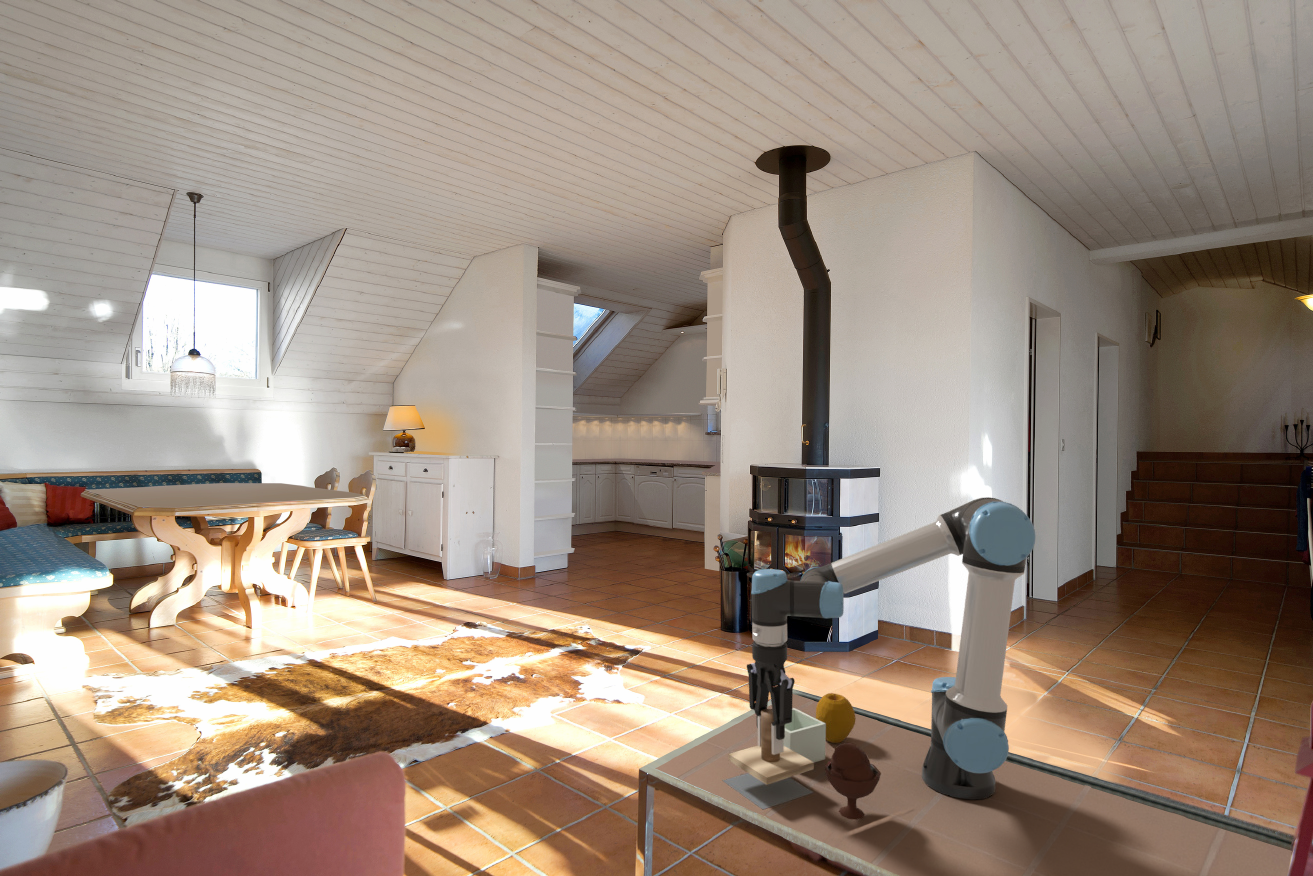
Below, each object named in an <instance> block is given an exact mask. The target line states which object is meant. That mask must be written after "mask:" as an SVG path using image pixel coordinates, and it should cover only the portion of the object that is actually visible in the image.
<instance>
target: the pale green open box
mask: <svg viewBox="0 0 1313 876" xmlns="http://www.w3.org/2000/svg"><path fill="white" fill-rule="evenodd" d="M783 741H784V746H785V747H787V748H789V749H791V750H792V751H794V752H796V753H798V754H800V755H801V756H803V757H805V758H807V759H809V760H811V761H812V762H814V763H817V762H820V761H823V760H826V741H827V740H826V724H825V723H823V722H821V721H819V720H817V719H816V717H813V716H811V715H809V714H807V713H806V712H804V711H801V710H799V709H797V708H795V707H792V722H791V723H787V724H785V738H784V739H783Z"/></svg>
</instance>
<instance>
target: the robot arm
mask: <svg viewBox="0 0 1313 876" xmlns="http://www.w3.org/2000/svg"><path fill="white" fill-rule="evenodd" d="M1035 544H1036V529H1035V527H1034V524H1033V522H1032V520H1031V519H1030V518H1029V516H1028V515H1027V514H1026V513H1025V512H1024V511H1023V510H1022V509H1021V508H1019V507H1018V506H1017V505H1015V504H1012V503H1010V502H1006V501H1003V500H1001V499H998V498H994V497H989V496H988V497H980V498H976V499H973V500H971V501H969V502H966V503H964V504H962V505H959V506H958V507H955V508H953V509H950V510H948V511H945V512H944V513H942V514H939V515H938V516H937V518H936V520H935V521H934V522H932V523H929V524H927V525H924V526H921V527H919V528H917V529H916V528H915V529H914V530H912V531H908V532H907V533H904V534H901V535H899V536H896V537H894V538H891V539H889V540H887V541H884V542H881V543H879V544H876V545H874V546H871V547H868V548H866V549H862V550H860V551H858V552H856V553H853V554H851V555H848V556H845V557H843V558H840V559H838V560H836V561H833V562H831V563H828V564H825V565H823V566H813V567H810V568H808V569H807V570H805V572H804V573H803V574H802V576H801V578H800V580H790V579H788V576H787V573H786V571H784V570H781V569H773V568H764V569H759V570H756V571H754V573H753V574H752V577H751V592H750V593H751V621H752V626H751V627H752V629H751V630H752V631H751V632H752V640H753V642H752V643H751V646H752V649H751V650H752V651H751V652H752V655H751V657H752V660H754V662H752V663H748V664H746V669H747V675H748V697H749V699H748V701H749V708H750V710H753V711H754V714H755V715H756V717H755V718H756V729H757V745H758V746H759V747H761V711H762V710H764V709H768V704H769V696H770V702H771V709H772V710H773V718H774V722H772V723H771V740H772V754H773V755H775V754H778V753H782V752H784V741H783V739H784V738H785V724H787V723H791V722H792V708H793V694H794V693H793V692H794V691H793V689H794V685H795V683H796V682H795V681H796V680H795V679H794V677H789V676H788V675H787V674H786V669H785V663H786V662H787V660H788V644H787V641H788V616H789V617H790V616H791V617H802V618H803V617H805V618H819V619H820V618H821V619H835V618H836V619H838V618H842V616H843V615H844V612H845V611H844V609H845V608H844V607H845V606H844V595H845V594H848V593H850V592H852V591H855V590H858V589H861V588H864V587H866V586H869V585H871V584H873V583H874V584H875V583H877V582H879V581H881V580H885V579H888V578H890V577H893V576H895V575H898V574H900V573H903V572H906V571H908V570H911V569H913V568H916V567H918V566H921V565H924V564H926V563H929V562H931V561H935V560H937V559H941V558H942V557H945V556H949V555H950V554H952V555H955V556H961V555H962V560H961V564H962V565H963V566H964V567H965V568H966V570H967V571H968V577H967V584H966V592H965V599H964V608H963V609H964V610H963V617H962V626H961V633H960V641H959V650H958V657H957V667H956V674H955V676H940V677H937V678H934V680H933V681H932V685H931V686H932V687H931V690H930V693H931V720H930V721H931V723H930V725H931V726H930V729H931V730H930V736H931V737H930V745H929V748H928V751H927V753H926V755H925V758H924V761H923V763H922V768H921V769H922V770H921V771H922V772H921V778H922V780H923V782H924V783H925V784H926V786H928V787H929V788H931V789H932V790H935V791H936V792H938V793H940V794H943V795H945V794H946V796H948V795H950V796H949V797H953V798H957V799H962V800H963V799H964V800H983V799H987V798H990V797H991V796H990V795H991V794H993V793H994V794H995V792H996V777H995V774H994V773H993V771H995V770H997V769H999V768H1000V767H1001V766H1002V765H1003V764H1004V763H1005V762H1006V760H1007V758H1008V755H1009V747H1010V745H1009V740H1008V736H1007V734H1006V732H1005V730H1006V728H1005V727H1006V721H1007V714H1008V713H1007V712H1008V705H1007V703H1006V702H1005V701H1004V699H1003V698H1002V696H1001V694H1002V686H1003V685H1002V684H1003V676H1004V670H1005V662H1006V653H1007V645H1008V637H1009V632H1010V631H1009V629H1010V623H1011V614H1012V606H1013V597H1014V590H1015V582H1016V580H1017V579H1018V578H1020V577H1021V576H1023V575H1024V574H1025V570H1026V561H1027V558H1028V556H1030V554H1031V552H1032V551H1033V549H1034V546H1035ZM779 717H780V718H779ZM994 791H995V792H994ZM994 794H993V795H994ZM989 796H990V797H989ZM986 797H987V798H986Z"/></svg>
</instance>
